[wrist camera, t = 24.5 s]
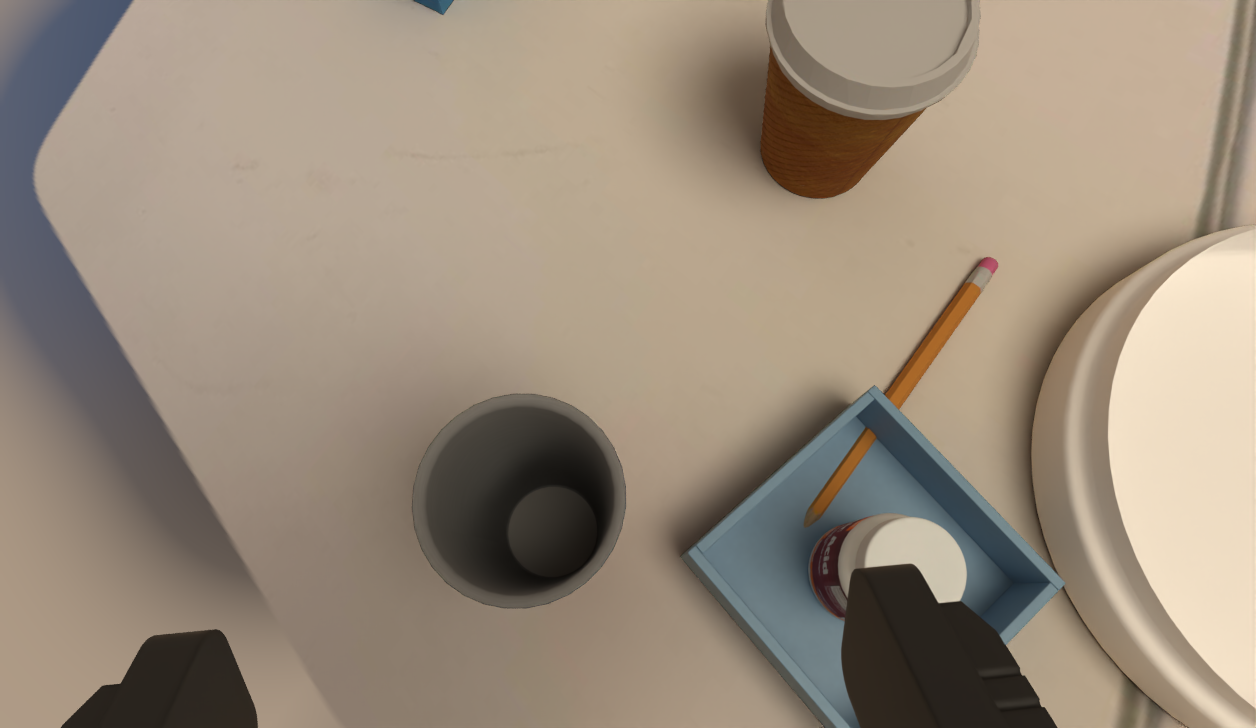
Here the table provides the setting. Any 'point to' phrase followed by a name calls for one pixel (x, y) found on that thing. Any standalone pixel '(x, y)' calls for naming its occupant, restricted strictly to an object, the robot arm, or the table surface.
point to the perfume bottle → (436, 4)
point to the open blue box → (881, 483)
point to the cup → (519, 501)
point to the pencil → (906, 381)
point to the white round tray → (1161, 476)
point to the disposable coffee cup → (855, 82)
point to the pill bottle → (885, 557)
